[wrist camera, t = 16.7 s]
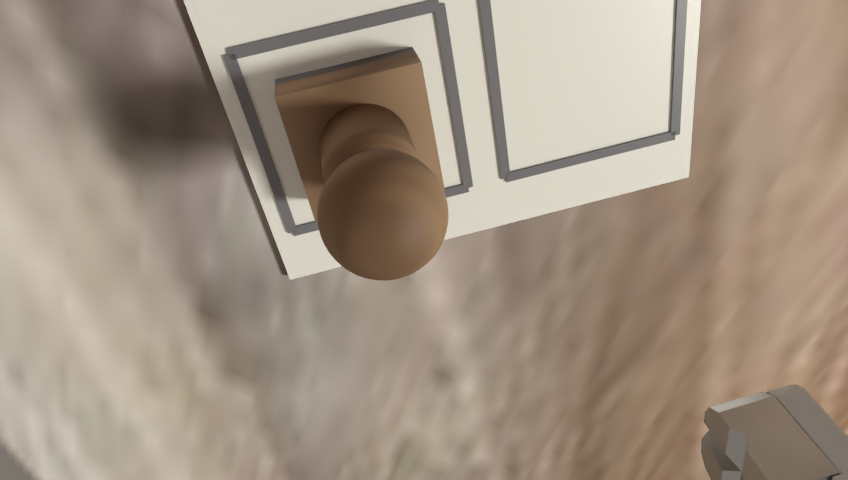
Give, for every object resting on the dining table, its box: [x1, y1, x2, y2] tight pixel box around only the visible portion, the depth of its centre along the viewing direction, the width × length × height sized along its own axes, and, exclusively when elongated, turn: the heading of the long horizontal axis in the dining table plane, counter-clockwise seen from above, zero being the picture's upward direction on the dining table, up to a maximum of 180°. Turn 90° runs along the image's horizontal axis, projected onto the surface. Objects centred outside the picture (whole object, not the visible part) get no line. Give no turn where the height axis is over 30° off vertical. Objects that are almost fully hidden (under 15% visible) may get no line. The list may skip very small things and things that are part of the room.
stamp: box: [275, 47, 448, 280], centre depth 20 cm, size 5×5×8 cm
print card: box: [183, 0, 701, 280], centre depth 24 cm, size 18×12×1 cm, turn 100°
